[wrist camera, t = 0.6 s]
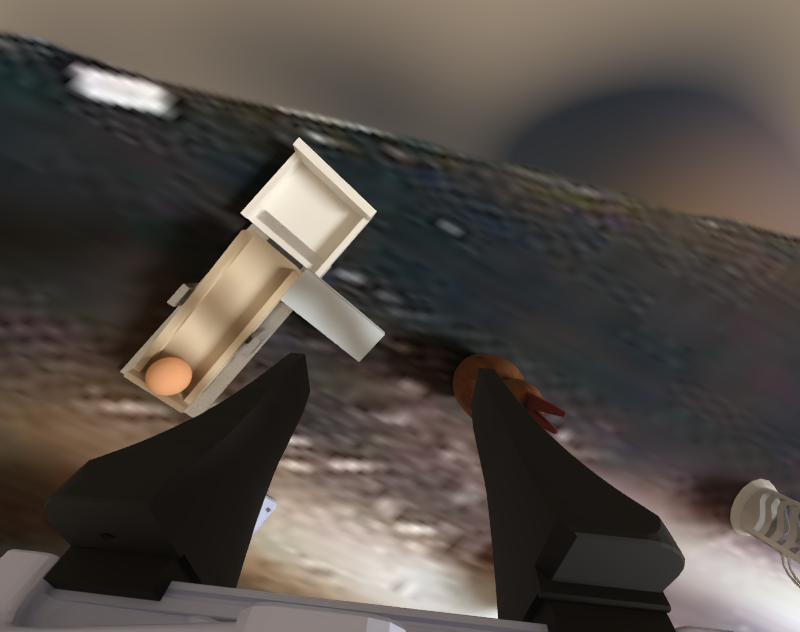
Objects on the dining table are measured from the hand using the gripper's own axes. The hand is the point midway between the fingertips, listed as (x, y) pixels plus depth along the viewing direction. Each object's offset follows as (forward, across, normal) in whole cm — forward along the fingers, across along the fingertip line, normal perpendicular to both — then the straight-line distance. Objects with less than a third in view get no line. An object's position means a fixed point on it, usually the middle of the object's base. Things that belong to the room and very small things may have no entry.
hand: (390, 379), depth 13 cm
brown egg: (+9, +20, +10) cm, 24 cm away
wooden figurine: (+19, -8, +15) cm, 26 cm away
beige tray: (+13, +13, +8) cm, 20 cm away
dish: (+21, +10, -2) cm, 23 cm away
